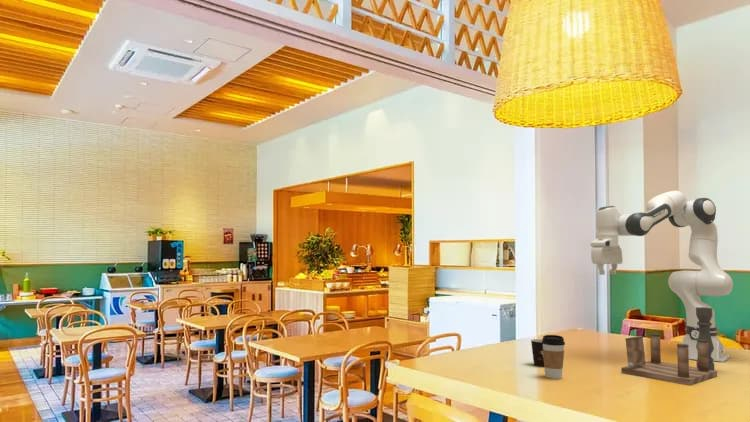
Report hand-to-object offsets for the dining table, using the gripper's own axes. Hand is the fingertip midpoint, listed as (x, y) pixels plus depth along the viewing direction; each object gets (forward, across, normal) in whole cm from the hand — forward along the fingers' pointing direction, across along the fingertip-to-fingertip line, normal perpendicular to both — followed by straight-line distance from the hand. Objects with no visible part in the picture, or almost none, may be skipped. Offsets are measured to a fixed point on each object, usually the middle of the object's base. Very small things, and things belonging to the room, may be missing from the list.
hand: (607, 274), depth 246 cm
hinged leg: (+34, +14, +19) cm, 41 cm away
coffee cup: (+37, +48, +4) cm, 61 cm away
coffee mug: (+37, +32, -10) cm, 50 cm away
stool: (+37, +7, +28) cm, 47 cm away
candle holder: (+37, -12, +34) cm, 52 cm away
